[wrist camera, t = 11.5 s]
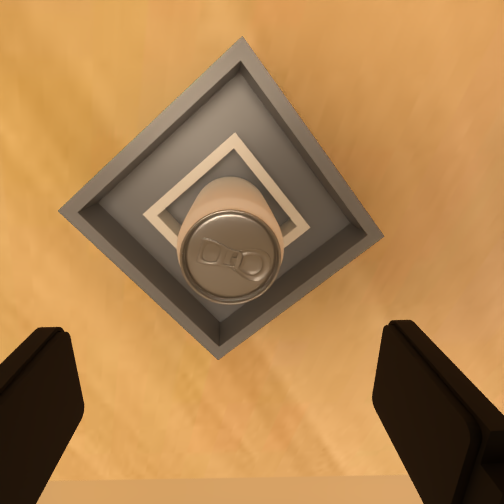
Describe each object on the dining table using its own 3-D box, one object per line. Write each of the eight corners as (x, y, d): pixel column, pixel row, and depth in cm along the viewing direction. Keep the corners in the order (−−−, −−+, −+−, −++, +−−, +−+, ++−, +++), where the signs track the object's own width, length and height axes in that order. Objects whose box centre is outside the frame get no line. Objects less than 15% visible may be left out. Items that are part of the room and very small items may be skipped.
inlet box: (361, 221, 32) (384, 236, 27) (219, 329, 35) (218, 360, 30) (240, 53, 26) (242, 35, 22) (85, 198, 29) (57, 210, 25)
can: (253, 254, 31) (266, 323, 20) (185, 235, 30) (159, 295, 19) (276, 188, 29) (306, 222, 18) (205, 165, 28) (188, 185, 17)
